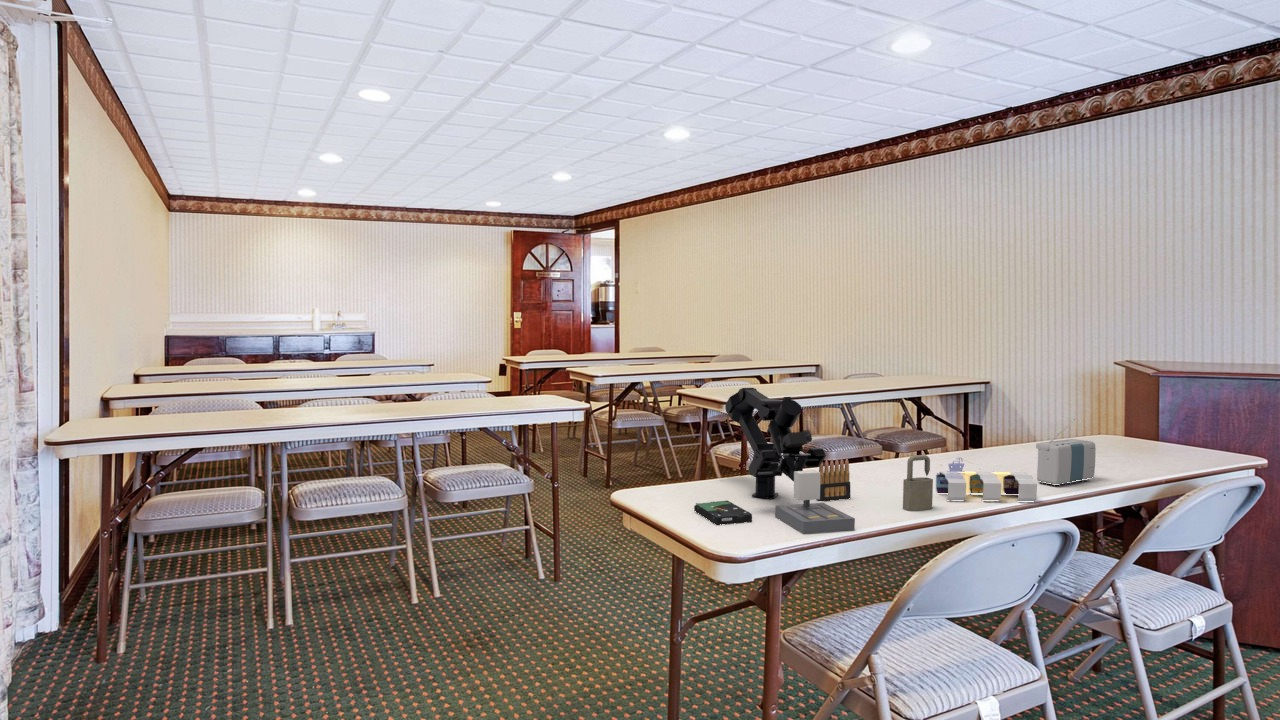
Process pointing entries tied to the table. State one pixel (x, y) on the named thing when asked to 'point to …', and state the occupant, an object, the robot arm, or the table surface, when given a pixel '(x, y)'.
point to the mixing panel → (814, 518)
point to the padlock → (917, 487)
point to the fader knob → (806, 486)
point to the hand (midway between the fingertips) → (800, 485)
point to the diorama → (985, 483)
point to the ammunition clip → (834, 481)
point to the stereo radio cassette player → (1065, 460)
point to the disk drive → (723, 512)
